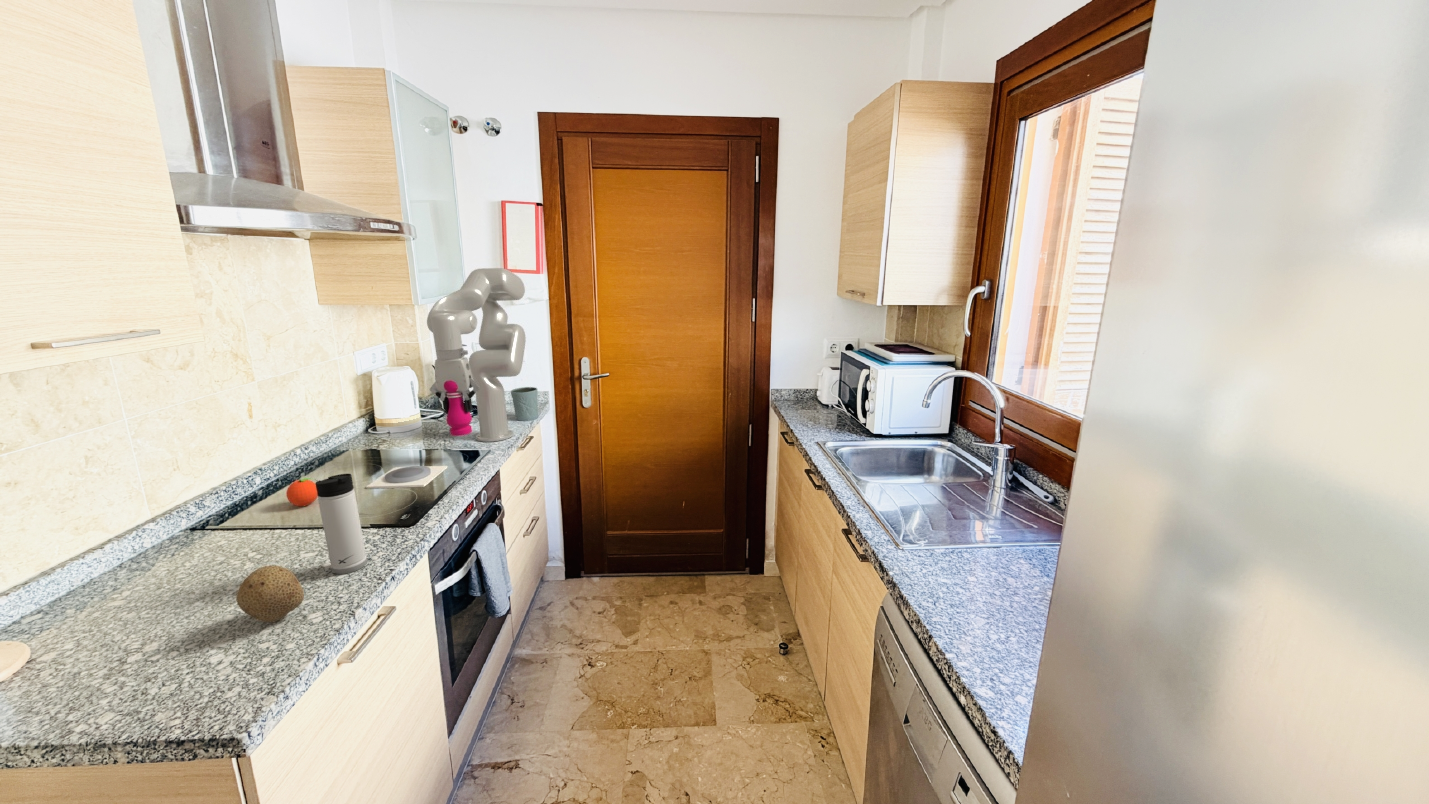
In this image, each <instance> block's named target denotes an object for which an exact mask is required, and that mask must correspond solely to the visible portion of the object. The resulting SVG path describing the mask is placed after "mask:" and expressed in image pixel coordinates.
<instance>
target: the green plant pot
mask: <svg viewBox="0 0 1429 804" xmlns="http://www.w3.org/2000/svg"><path fill="white" fill-rule="evenodd" d="M510 394H511V398H512V404H513V409H514V414H515V420H516V421H517V420H518V421H517V422H530V421H535V420H537V419H538V418H539V408H538V405H539V404H538V403H539V402H538V401H539V400H538V398H539V397H538V396H539V395H538V388H537V387H535V386H524V387H518V388H513V389H512V390H510Z"/></svg>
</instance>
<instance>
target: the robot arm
mask: <svg viewBox="0 0 1429 804" xmlns="http://www.w3.org/2000/svg"><path fill="white" fill-rule="evenodd" d="M525 289H526V287H525V284H524V282H523V280H522V279H521V277H519V276H518V275H517V274H515V273H514V272H512V271H510V270H509V269H506V268H502V267H493V268H492V267H491V268H486V267H485V268H477V269H476V268H475V269H474V270H472V271H471V272H470V274H469V275H468V276H467V277H466V279H465V281H464V282H463V284H462V286H461V287H460V288H459V289H457V290H456V291H454V292H451V293H450V294H447V295H446V296H443V297H442V298H440V299H439V300H437V301H436V302H435V303H434V305H433V306H432V307H431V309H430V310H429V312H428V314H427V319H426V325H427V328H428V329H429V331H430V332H431V333H432V335H433V340H434V341H433V342H434V349H435V354H436V355H435V356H436V359H435V360H434V382H433V383H432V385H431V387H429V392H431V393H433V394H434V395H435V396H436V397H437V398H439V400H440V401H441V402H442V406H443V411H444V414H448V411H449V399H448V397H447V394H446V392H447V391H446V390H445V389H444V383H445V382H446V381H454V382H455V383H456V384H457V386H458V389H457V390H456V391H458V392H460V391H462V393H463V398H464V399H463V401H464V406H465V412H466V413H468V412H470V411H472V409H473V403H472V402H473V401H472V398H473V396H474V395H475V400H476V408H477V417H478V418H477V419H478V424H479V426H478V427H479V433H478V434H476V435H475V439H476V441H479V442H485V443H488V442H489V443H490V442H499V441H504V440H508V439H510V438H511V437H513V436H514V432H513V430H510V429H509V421H508V417H507V416H508V415H507V407H506V397H505V389H504V385H503V383H501V381H500V380H499V379H498V378H505V377H506V378H507V377H508V378H509V377H516V376H518V375H520V373H521V370H522V367H523V361H524V355H525V349H526V338H527V337H526V332H525V329H524V328H523V327H522V326H521V325H520V324H517V323H508V318H509V316H508V314H507V311H506V310H505V309H504V308H503V307H502V305H500V304H499V303H498V302H499V301H519V300H521V299H522V298H523V297H524V295H525V291H526V290H525ZM497 301H498V302H497ZM478 309H481V310H482V319H481V325H480V329H479V335H478V344H479V346H480V348H481V350H476V351H474V352H472V353H471V354H470V356H469V358H468V357H465V356H467V355H468V354H469V353H468V350H465V349H464V347H463V341H462V335H469V334H471V333H474V331H475V330H476V329H477V327H478V318H477V316H476V315H475V313H474V311H477V310H478ZM470 389H472V390H470ZM470 413H471V412H470Z"/></svg>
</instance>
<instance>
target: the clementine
mask: <svg viewBox="0 0 1429 804" xmlns="http://www.w3.org/2000/svg"><path fill="white" fill-rule="evenodd" d="M314 481H317V479H315V478H314ZM315 483H316V482H313V480H312V478H311V477H310V478H303V479H302V478H301V479H298V480H295V481H293V482H292V483H291V484H289V486H288V488H287V489H286V493H285V494H286V498H287V500H288V502H289V503H290V504H292V505H294V506H296V507H306V506H309V505H311V504H313V503H314V502H315V501H316V500H317V499H318V496H317V489H316V484H315Z"/></svg>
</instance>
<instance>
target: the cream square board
mask: <svg viewBox="0 0 1429 804" xmlns="http://www.w3.org/2000/svg"><path fill="white" fill-rule="evenodd" d="M447 468H448V465H433V466H431V465H430V466H428V465H427V466H425V465H412V466H400V467H399V466H398V467H397V466H396V467H393V468H391V469H390V470H388V471H387V472H385V473H384V474H383V475H381V476H379V477H378V478H377V479H375V480H374V481H372V482H371V483H369V484H368V485H366V487H365V489H366V490H368V489H399V488H400V489H401V488H424V487H425V486H427V485H428V484H429V483H431V482H432V481H433V480H434V479H435V478H436V477H438V476H440V474H441V473H443V472H444V471H445V470H446V469H447Z"/></svg>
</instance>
